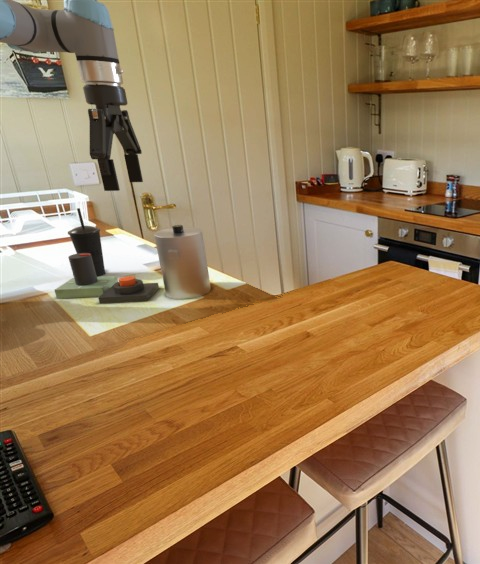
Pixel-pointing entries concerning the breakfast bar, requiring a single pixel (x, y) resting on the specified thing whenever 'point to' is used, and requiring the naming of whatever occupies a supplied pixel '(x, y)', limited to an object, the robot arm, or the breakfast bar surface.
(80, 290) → the dial panel
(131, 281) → the power switch
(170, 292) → the metal canister
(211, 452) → the breakfast bar surface
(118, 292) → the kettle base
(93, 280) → the dial
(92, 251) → the drinking cup
